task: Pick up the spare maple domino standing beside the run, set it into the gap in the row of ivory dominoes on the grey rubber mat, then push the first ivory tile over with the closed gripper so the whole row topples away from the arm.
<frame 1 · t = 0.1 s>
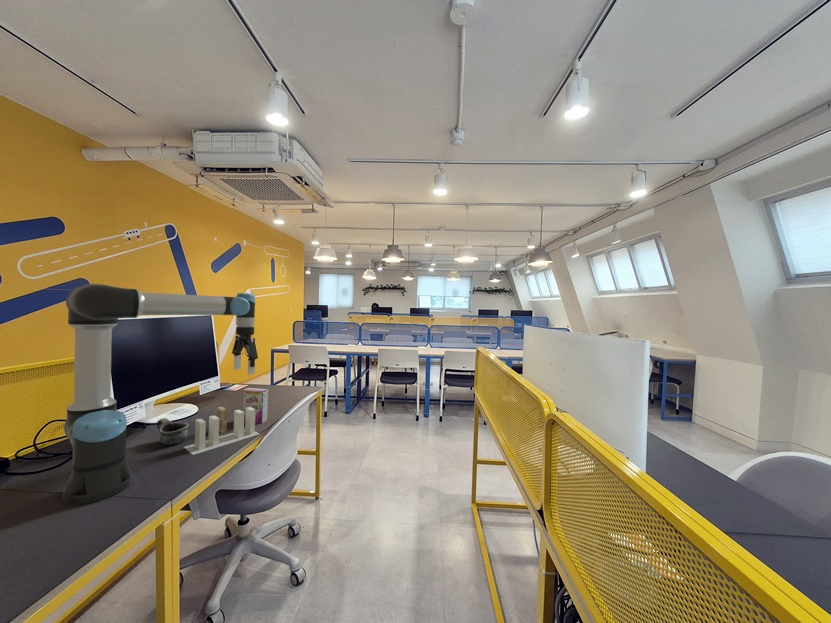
hand: (244, 371, 144), 28 cm above the table, fingers open, 13 cm apart
mat: (223, 441, 133), on the table
candy bar box: (254, 422, 155), on the table
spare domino: (221, 431, 142), on the table
domino 4: (249, 432, 142), resting on mat
domino 2: (213, 443, 130), resting on mat
domino 3: (238, 435, 138), resting on mat
domino 1: (199, 447, 126), resting on mat
mug: (170, 443, 129), on the table
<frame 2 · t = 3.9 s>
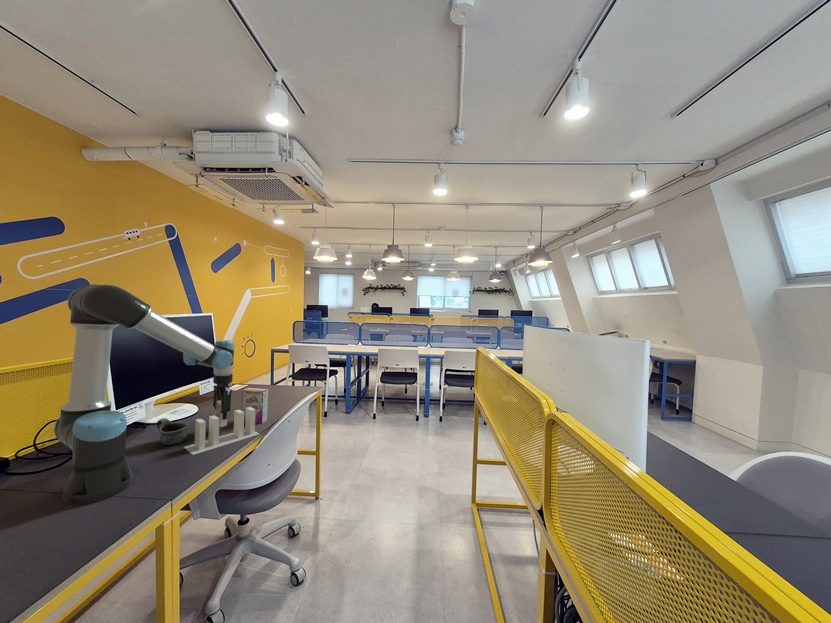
hand: (220, 424, 142), 4 cm above the table, fingers closed on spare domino, 5 cm apart
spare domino: (219, 425, 141), point 3 cm above the table, touching gripper
everything else where it was.
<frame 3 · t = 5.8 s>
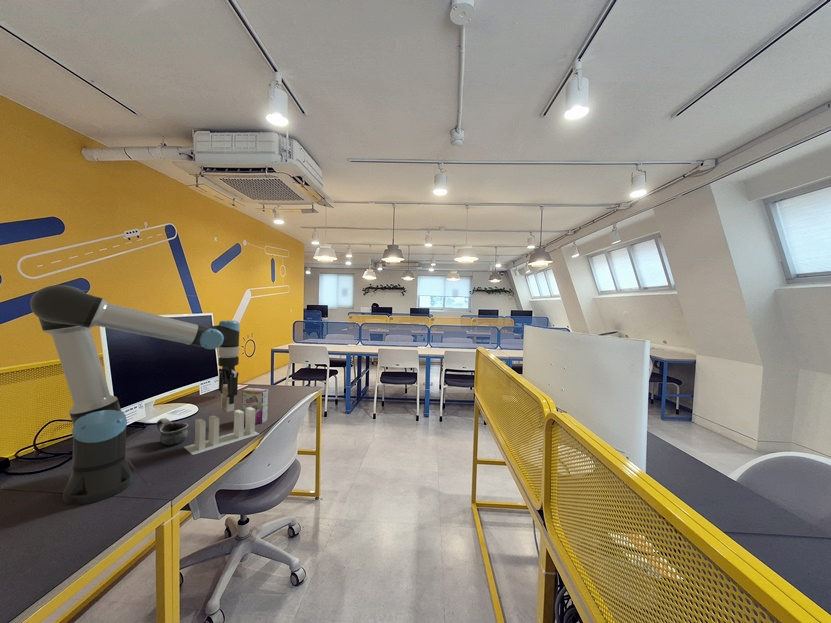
hand: (227, 409, 134), 14 cm above the table, fingers closed on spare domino, 5 cm apart
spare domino: (226, 410, 133), point 13 cm above the table, touching gripper
everything else where it was.
when the fingers open (2 cm above the table, at t = 8.0 s): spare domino drops 1 cm, resting on mat.
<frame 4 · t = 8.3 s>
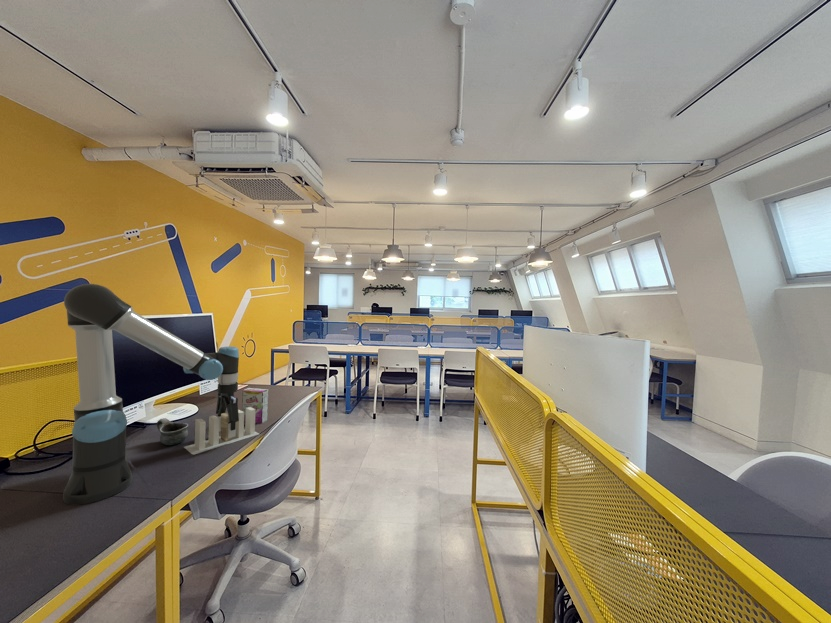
hand: (226, 433, 134), 3 cm above the table, fingers open, 9 cm apart
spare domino: (225, 439, 134), resting on mat
everything else where it was.
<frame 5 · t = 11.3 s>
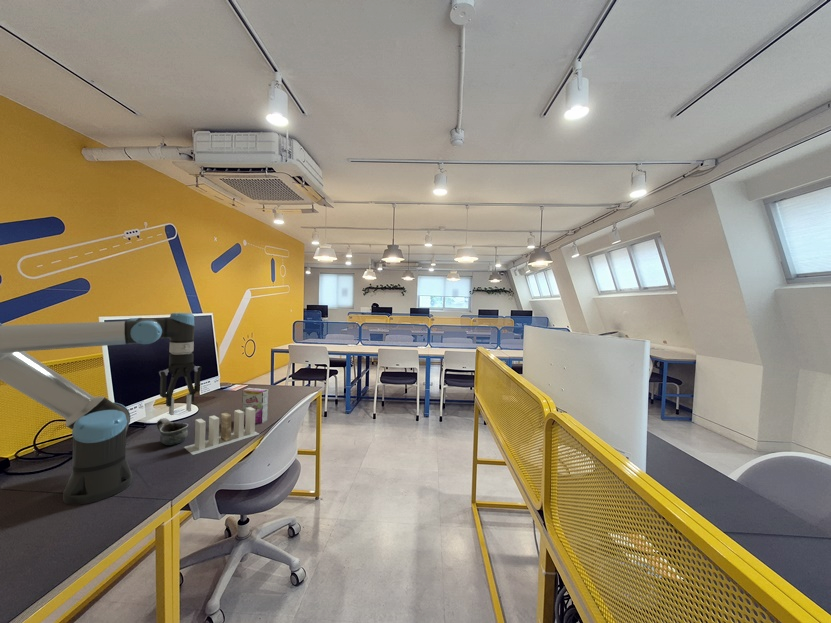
hand: (180, 412, 120), 17 cm above the table, fingers open, 5 cm apart
nothing on the table moved.
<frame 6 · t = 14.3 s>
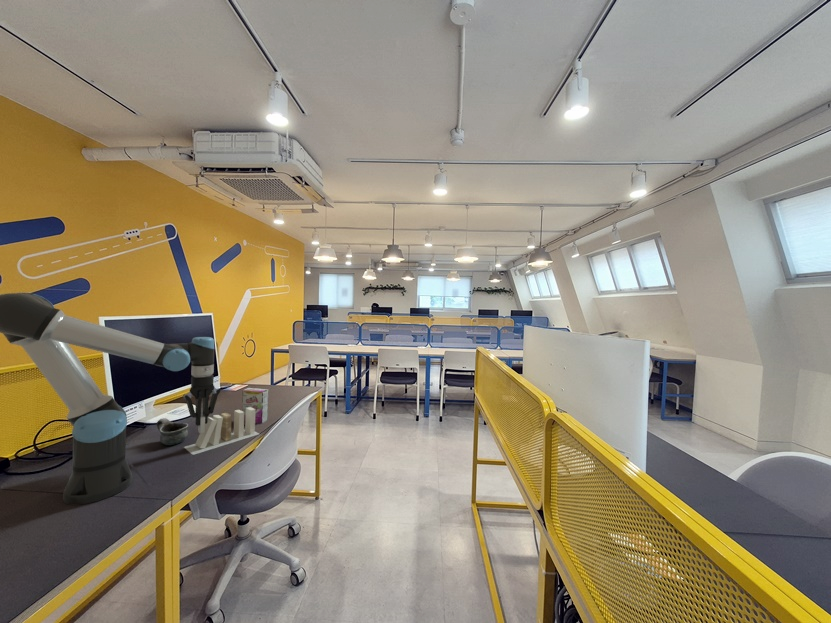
hand: (201, 432, 126), 7 cm above the table, fingers closed
domino 2: (213, 442, 130), point 1 cm above the table, tilted 7°, touching mat
domino 1: (200, 446, 126), point 1 cm above the table, tilted 23°, touching mat
everything else where it was.
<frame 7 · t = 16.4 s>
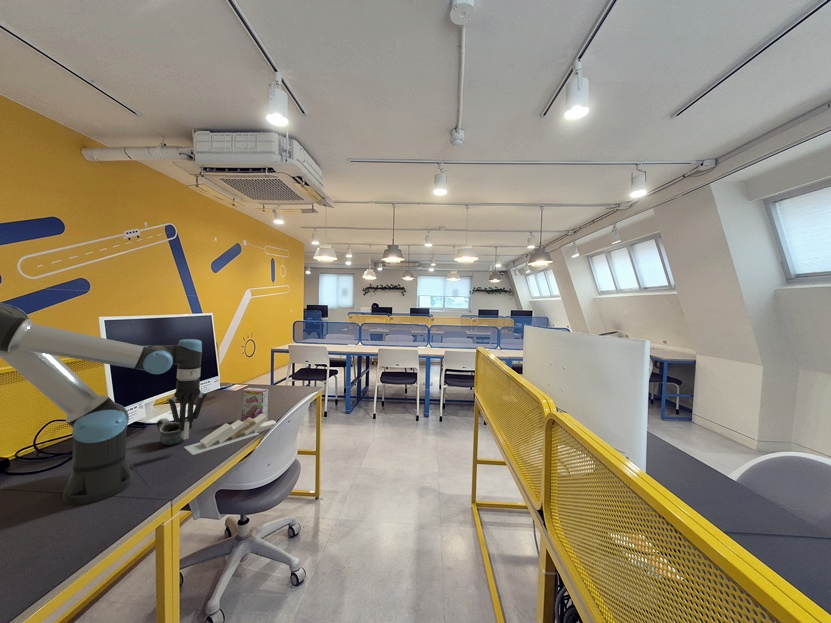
hand: (184, 438, 122), 6 cm above the table, fingers closed
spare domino: (228, 436, 135), point 1 cm above the table, tilted 67°, touching domino 2, domino 3, mat
domino 4: (252, 429, 143), point 1 cm above the table, tilted 92°, touching domino 3, mat
domino 2: (217, 439, 131), point 1 cm above the table, tilted 66°, touching domino 1, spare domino
domino 3: (242, 431, 139), point 2 cm above the table, tilted 67°, touching domino 4, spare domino
domino 1: (203, 444, 127), point 1 cm above the table, tilted 66°, touching domino 2, mat
everything else where it was.
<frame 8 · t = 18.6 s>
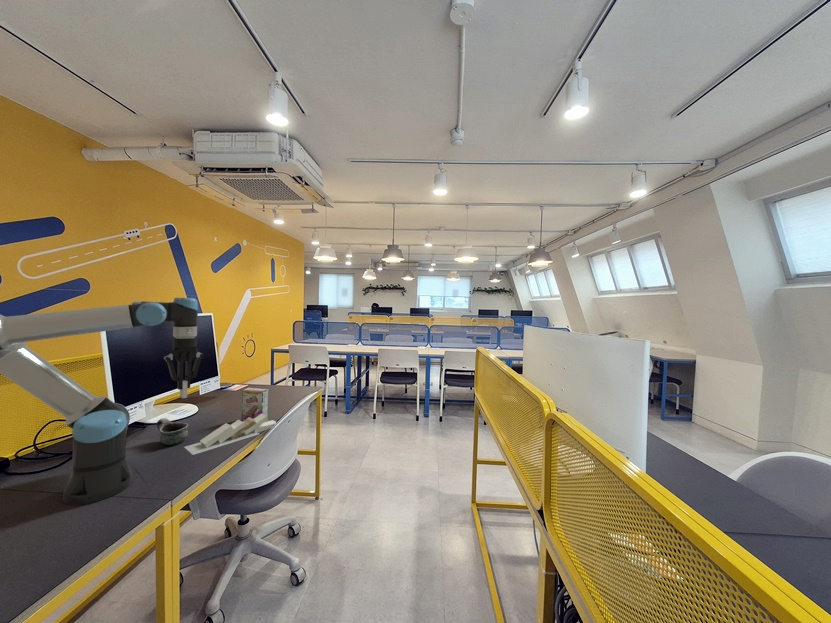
hand: (183, 397, 120), 22 cm above the table, fingers closed
nothing on the table moved.
at the end: domino 4 tilted 92°; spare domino inside the target area (0.5 cm from its centre), point 1.3 cm above the table; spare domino tilted 67° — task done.
